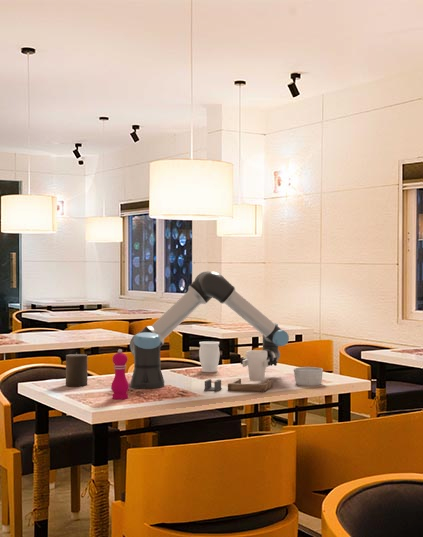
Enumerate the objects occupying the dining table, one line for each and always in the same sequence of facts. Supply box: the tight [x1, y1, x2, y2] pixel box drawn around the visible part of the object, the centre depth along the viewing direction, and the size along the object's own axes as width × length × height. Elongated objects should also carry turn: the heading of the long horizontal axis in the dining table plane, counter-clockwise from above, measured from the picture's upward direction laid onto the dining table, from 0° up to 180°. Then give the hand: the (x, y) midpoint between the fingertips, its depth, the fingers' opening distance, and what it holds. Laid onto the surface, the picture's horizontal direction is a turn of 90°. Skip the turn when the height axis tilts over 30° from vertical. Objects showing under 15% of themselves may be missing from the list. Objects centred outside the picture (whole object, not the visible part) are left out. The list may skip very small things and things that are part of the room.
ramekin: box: [293, 366, 324, 387], centre depth 341 cm, size 13×13×7 cm
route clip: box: [203, 379, 223, 392], centre depth 326 cm, size 6×6×4 cm
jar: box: [198, 340, 221, 373], centre depth 384 cm, size 11×10×15 cm
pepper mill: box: [110, 348, 130, 400], centre depth 307 cm, size 7×7×20 cm
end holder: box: [227, 378, 274, 393], centre depth 329 cm, size 16×16×3 cm
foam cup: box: [245, 349, 267, 382], centre depth 338 cm, size 10×9×13 cm
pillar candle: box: [65, 352, 88, 388], centre depth 342 cm, size 10×10×15 cm
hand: (254, 364), depth 333 cm, fingers closed on foam cup, 9 cm apart
